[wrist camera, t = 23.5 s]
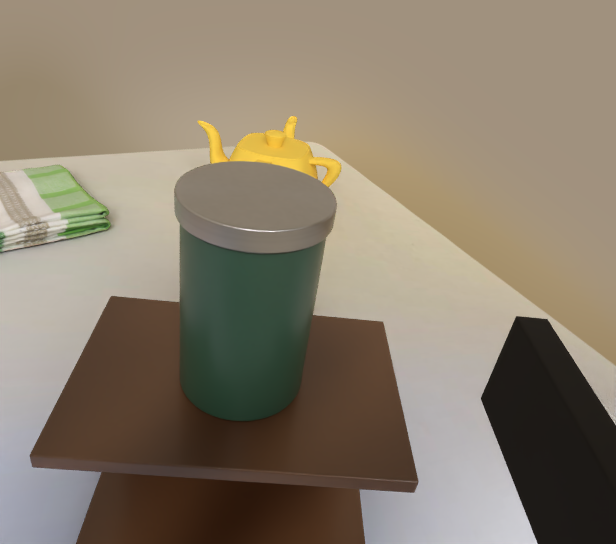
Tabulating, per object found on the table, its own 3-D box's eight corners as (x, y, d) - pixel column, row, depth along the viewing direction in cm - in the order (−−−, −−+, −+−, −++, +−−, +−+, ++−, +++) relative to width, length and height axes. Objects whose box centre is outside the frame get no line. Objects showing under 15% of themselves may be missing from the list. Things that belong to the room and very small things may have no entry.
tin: (330, 393, 26) (369, 212, 21) (213, 447, 22) (224, 245, 17) (262, 320, 30) (280, 153, 25) (154, 356, 26) (148, 170, 21)
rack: (61, 594, 27) (28, 455, 21) (121, 425, 36) (110, 295, 30) (369, 609, 28) (419, 482, 22) (351, 442, 37) (383, 321, 32)
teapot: (286, 181, 75) (295, 111, 70) (340, 224, 66) (354, 147, 60) (195, 192, 68) (196, 116, 63) (240, 242, 59) (246, 157, 54)
